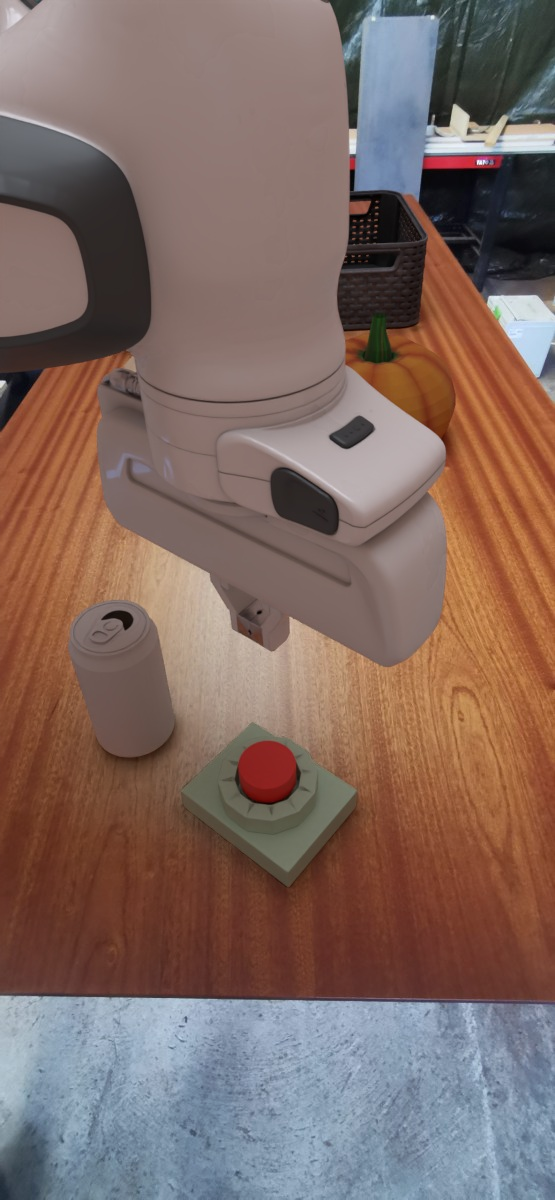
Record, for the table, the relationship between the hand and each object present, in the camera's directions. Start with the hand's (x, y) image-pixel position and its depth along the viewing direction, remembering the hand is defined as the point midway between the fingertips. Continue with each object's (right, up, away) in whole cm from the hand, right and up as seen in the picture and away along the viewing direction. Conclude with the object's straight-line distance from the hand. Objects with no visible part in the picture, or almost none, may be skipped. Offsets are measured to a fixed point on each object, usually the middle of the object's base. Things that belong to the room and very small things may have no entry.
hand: (260, 634), depth 42 cm
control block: (0, -13, +12) cm, 18 cm away
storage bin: (+14, +54, +86) cm, 103 cm away
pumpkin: (+13, +23, +51) cm, 57 cm away
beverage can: (-11, -9, +18) cm, 22 cm away
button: (0, -11, +10) cm, 14 cm away
